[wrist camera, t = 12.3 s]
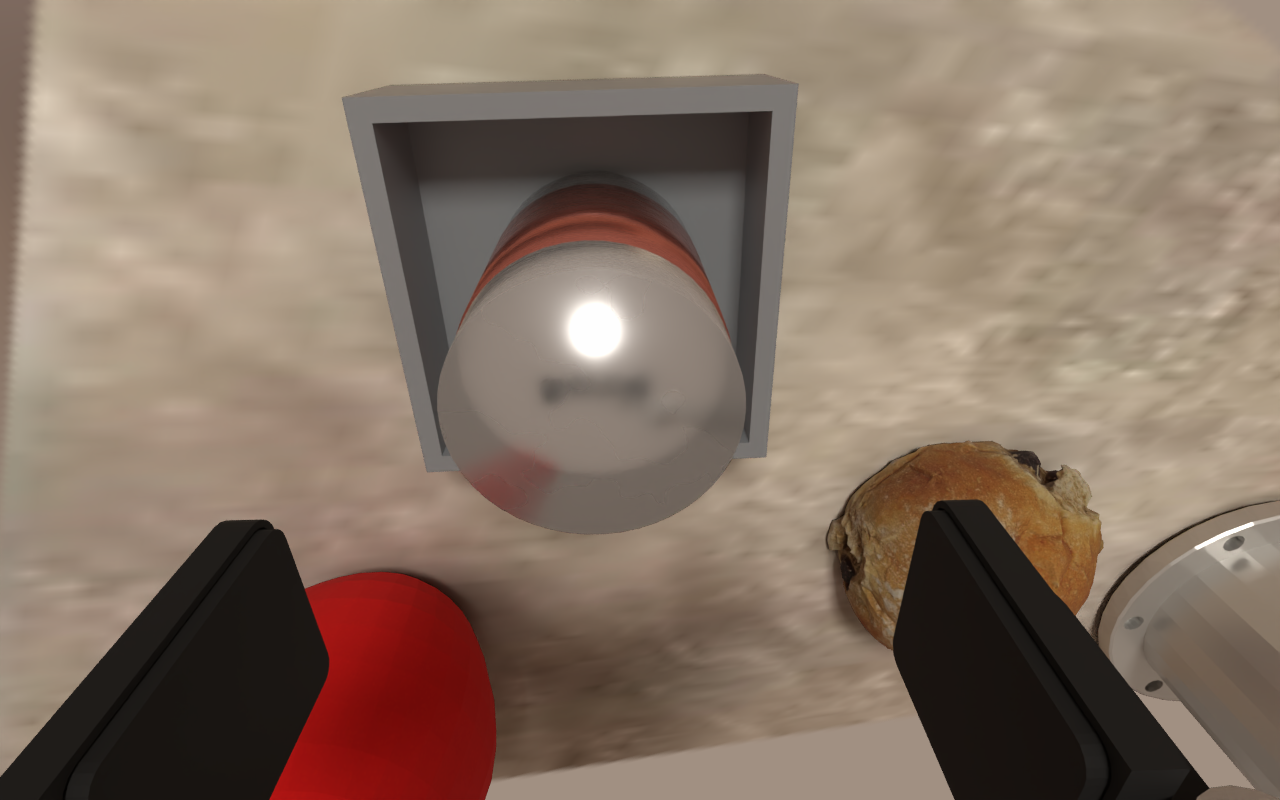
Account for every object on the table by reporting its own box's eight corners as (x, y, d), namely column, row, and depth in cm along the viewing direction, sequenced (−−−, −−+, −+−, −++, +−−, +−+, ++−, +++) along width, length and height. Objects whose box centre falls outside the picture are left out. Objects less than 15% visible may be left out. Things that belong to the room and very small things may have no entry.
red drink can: (697, 165, 20) (756, 259, 12) (695, 356, 23) (741, 527, 15) (482, 174, 20) (403, 276, 12) (511, 366, 23) (463, 543, 15)
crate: (764, 73, 20) (798, 83, 16) (744, 398, 25) (766, 457, 22) (389, 84, 19) (341, 97, 16) (452, 410, 25) (426, 472, 21)
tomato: (558, 579, 29) (529, 904, 19) (460, 724, 34) (390, 1050, 23) (279, 475, 26) (41, 798, 15) (213, 652, 31) (-4, 995, 20)
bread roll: (826, 411, 30) (791, 537, 24) (1096, 396, 25) (1135, 551, 19) (861, 561, 35) (840, 697, 29) (1094, 574, 30) (1126, 742, 24)
